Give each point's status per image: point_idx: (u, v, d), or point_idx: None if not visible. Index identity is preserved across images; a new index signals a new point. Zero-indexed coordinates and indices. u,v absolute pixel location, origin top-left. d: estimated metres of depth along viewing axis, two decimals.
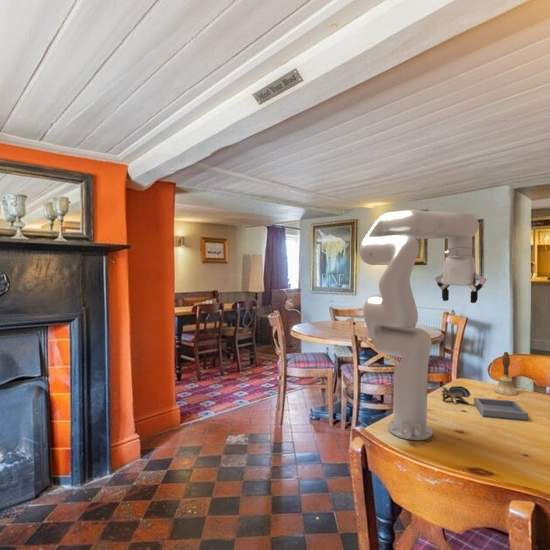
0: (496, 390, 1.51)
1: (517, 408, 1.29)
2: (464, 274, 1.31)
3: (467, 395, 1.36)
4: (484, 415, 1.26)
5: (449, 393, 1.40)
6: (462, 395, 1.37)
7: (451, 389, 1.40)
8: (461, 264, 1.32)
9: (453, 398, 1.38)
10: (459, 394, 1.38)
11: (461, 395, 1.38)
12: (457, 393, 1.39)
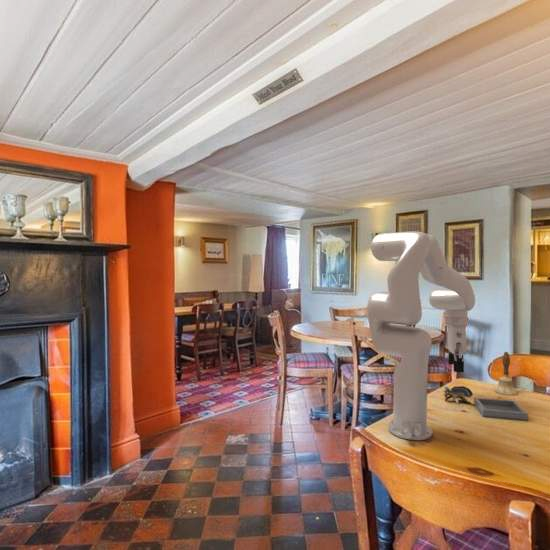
0: (496, 390, 1.51)
1: (517, 408, 1.29)
2: None
3: (469, 395, 1.36)
4: (484, 415, 1.26)
5: (451, 393, 1.40)
6: (464, 395, 1.37)
7: (453, 389, 1.40)
8: None
9: (455, 398, 1.39)
10: (461, 394, 1.38)
11: (463, 395, 1.38)
12: (459, 393, 1.39)
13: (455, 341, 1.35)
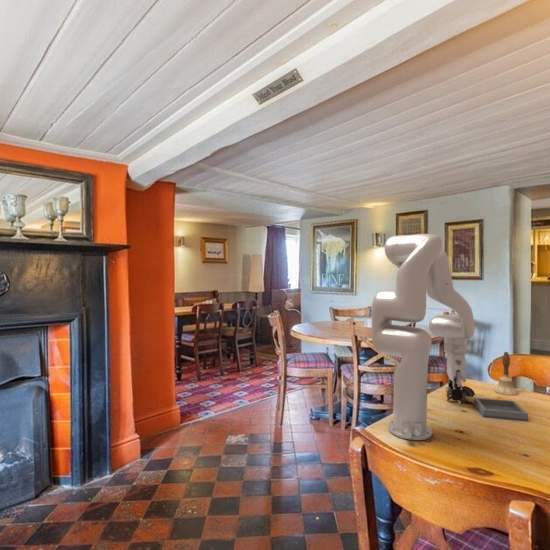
0: (496, 390, 1.51)
1: (517, 408, 1.29)
2: None
3: (472, 395, 1.36)
4: (484, 415, 1.26)
5: None
6: (467, 395, 1.37)
7: None
8: None
9: None
10: (463, 394, 1.38)
11: (465, 395, 1.37)
12: None
13: (454, 368, 1.35)
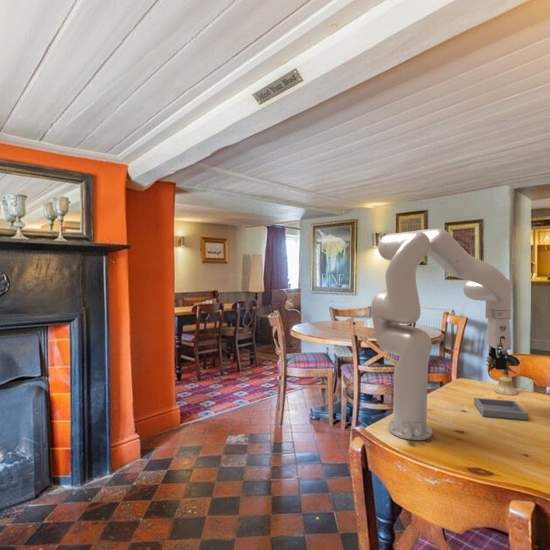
0: (496, 390, 1.51)
1: (517, 408, 1.29)
2: None
3: (516, 364, 1.27)
4: (484, 415, 1.26)
5: None
6: (510, 364, 1.28)
7: None
8: None
9: None
10: (507, 363, 1.29)
11: (509, 364, 1.28)
12: None
13: (499, 335, 1.26)
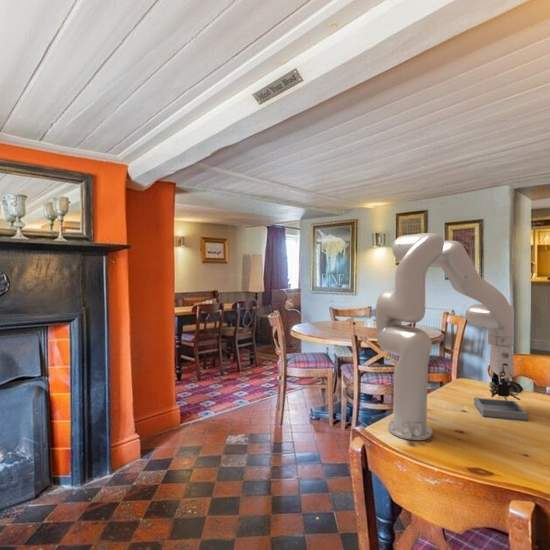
0: None
1: (517, 408, 1.29)
2: None
3: (519, 390, 1.27)
4: (484, 415, 1.26)
5: None
6: (513, 390, 1.28)
7: None
8: None
9: None
10: (510, 390, 1.28)
11: (512, 391, 1.28)
12: None
13: (501, 362, 1.25)
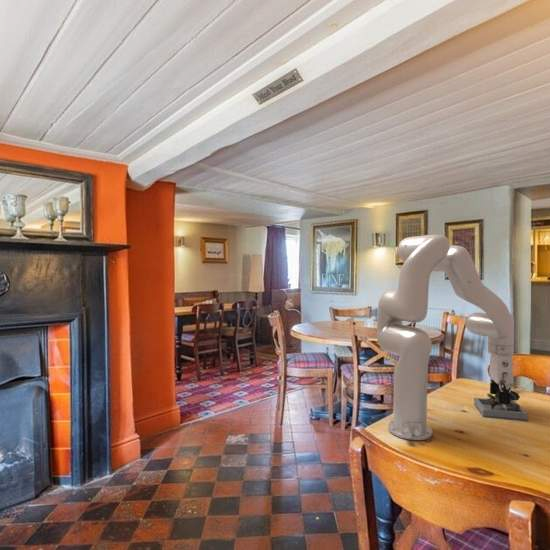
0: None
1: (517, 408, 1.29)
2: None
3: (516, 398, 1.27)
4: (484, 415, 1.26)
5: (496, 399, 1.30)
6: (511, 398, 1.28)
7: (497, 395, 1.31)
8: None
9: (502, 404, 1.29)
10: None
11: (510, 399, 1.28)
12: None
13: (501, 371, 1.25)
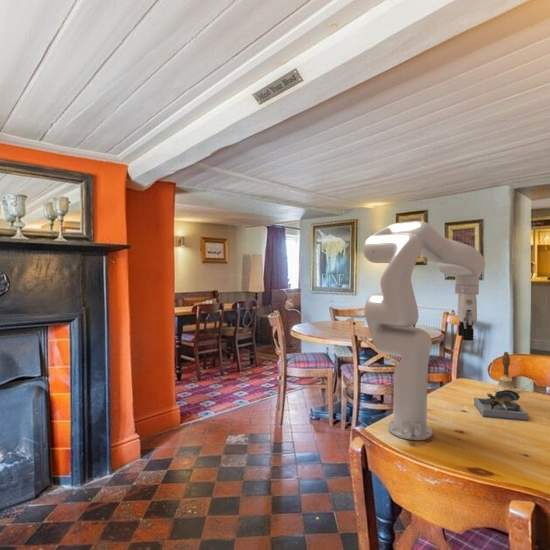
0: (496, 390, 1.51)
1: (517, 408, 1.29)
2: None
3: (516, 398, 1.27)
4: (484, 415, 1.26)
5: (496, 399, 1.30)
6: (511, 398, 1.28)
7: (497, 395, 1.31)
8: None
9: (502, 404, 1.29)
10: (507, 398, 1.29)
11: (510, 399, 1.28)
12: (504, 397, 1.29)
13: (465, 308, 1.31)
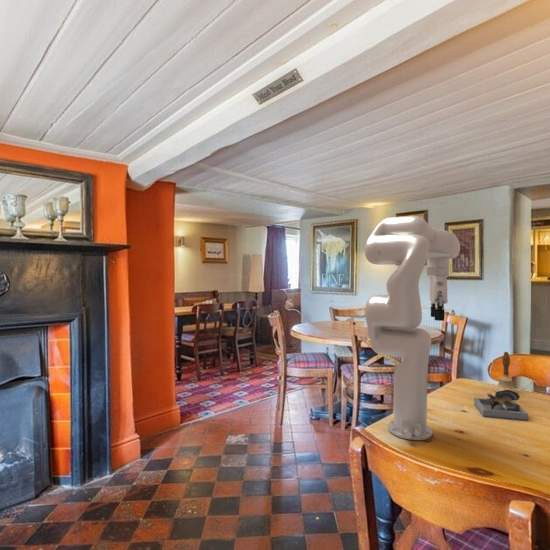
0: (496, 390, 1.51)
1: (517, 408, 1.29)
2: None
3: (516, 398, 1.27)
4: (484, 415, 1.26)
5: (496, 399, 1.30)
6: (511, 398, 1.28)
7: (497, 395, 1.31)
8: None
9: (502, 404, 1.29)
10: (507, 398, 1.29)
11: (510, 399, 1.28)
12: (504, 397, 1.29)
13: (436, 290, 1.37)
